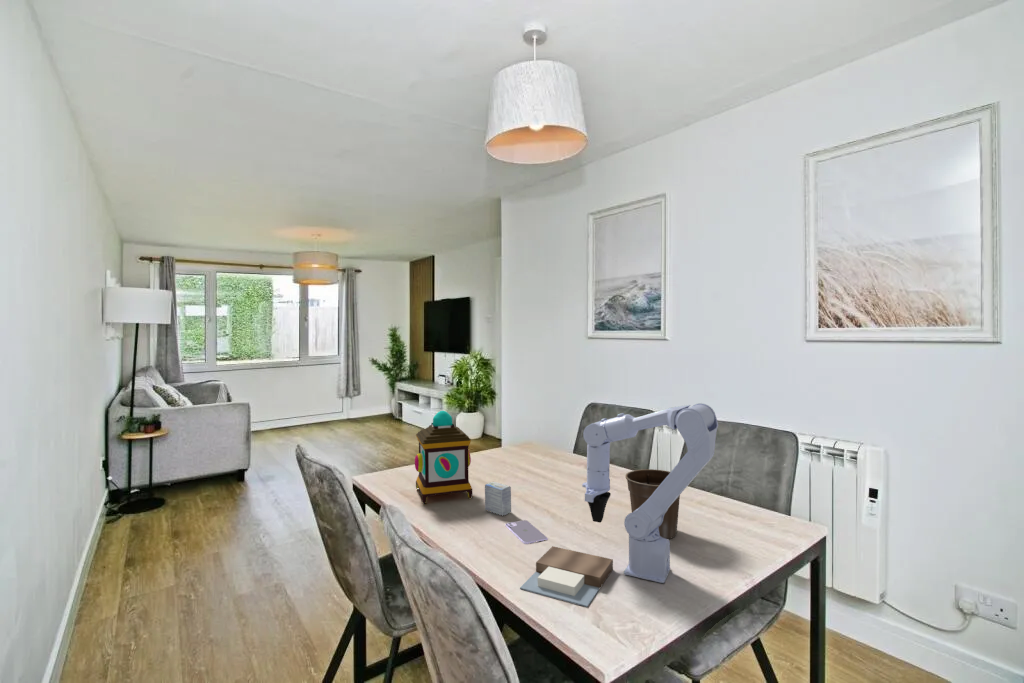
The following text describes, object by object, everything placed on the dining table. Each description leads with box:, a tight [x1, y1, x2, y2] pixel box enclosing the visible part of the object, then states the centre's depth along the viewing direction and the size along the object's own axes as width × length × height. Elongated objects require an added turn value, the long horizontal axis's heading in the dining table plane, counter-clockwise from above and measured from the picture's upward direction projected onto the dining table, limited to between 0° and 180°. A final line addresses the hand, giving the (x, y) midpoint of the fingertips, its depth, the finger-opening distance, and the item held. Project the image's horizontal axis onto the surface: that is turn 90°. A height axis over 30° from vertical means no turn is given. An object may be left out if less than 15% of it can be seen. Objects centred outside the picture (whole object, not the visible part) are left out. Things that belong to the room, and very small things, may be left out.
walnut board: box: [535, 545, 614, 589], centre depth 121 cm, size 16×10×2 cm, turn 62°
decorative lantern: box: [414, 410, 473, 504], centre depth 177 cm, size 20×20×30 cm
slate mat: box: [519, 571, 601, 608], centre depth 112 cm, size 16×8×1 cm, turn 62°
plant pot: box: [624, 468, 681, 540], centre depth 143 cm, size 16×16×16 cm
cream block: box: [538, 566, 584, 596], centre depth 114 cm, size 9×6×2 cm, turn 61°
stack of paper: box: [484, 481, 512, 517], centre depth 160 cm, size 8×4×9 cm, turn 47°
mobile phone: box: [504, 519, 548, 545], centre depth 144 cm, size 8×1×15 cm
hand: (597, 521), depth 128 cm, fingers closed
